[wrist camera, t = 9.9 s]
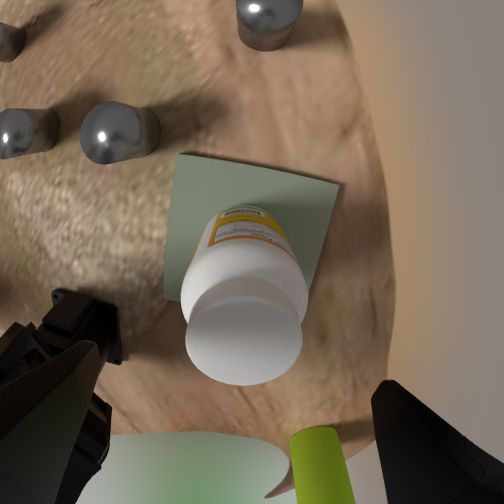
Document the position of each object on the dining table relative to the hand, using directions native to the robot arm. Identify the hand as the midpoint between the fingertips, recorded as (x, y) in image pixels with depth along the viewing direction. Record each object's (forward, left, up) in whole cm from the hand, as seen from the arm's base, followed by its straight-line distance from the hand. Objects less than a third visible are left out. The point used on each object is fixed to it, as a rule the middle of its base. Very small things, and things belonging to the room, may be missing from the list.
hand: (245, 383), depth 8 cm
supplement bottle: (0, 0, -12) cm, 12 cm away
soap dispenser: (-23, -12, -12) cm, 29 cm away
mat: (0, 0, -12) cm, 12 cm away
